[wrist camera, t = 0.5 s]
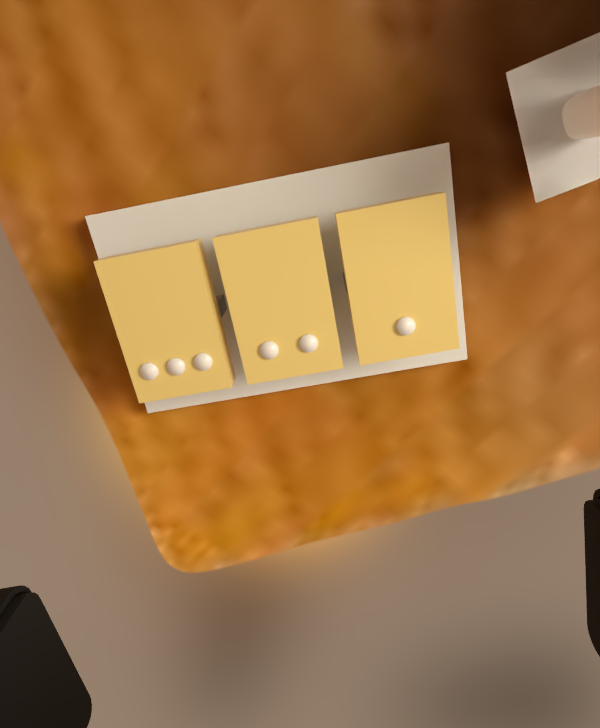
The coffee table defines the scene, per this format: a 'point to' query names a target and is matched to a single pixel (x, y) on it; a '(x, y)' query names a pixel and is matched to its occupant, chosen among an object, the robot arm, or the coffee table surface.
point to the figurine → (560, 117)
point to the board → (281, 204)
